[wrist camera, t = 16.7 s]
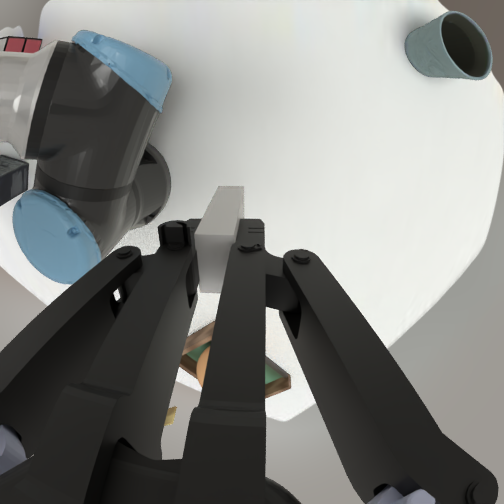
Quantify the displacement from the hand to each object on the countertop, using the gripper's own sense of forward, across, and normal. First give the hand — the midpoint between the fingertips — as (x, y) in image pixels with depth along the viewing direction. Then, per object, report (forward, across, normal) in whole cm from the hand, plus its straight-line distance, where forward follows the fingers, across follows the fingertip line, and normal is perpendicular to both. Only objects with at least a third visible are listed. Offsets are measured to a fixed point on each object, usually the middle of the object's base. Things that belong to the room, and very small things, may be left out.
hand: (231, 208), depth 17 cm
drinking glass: (+27, +28, +20) cm, 43 cm away
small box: (+27, -50, 0) cm, 57 cm away
